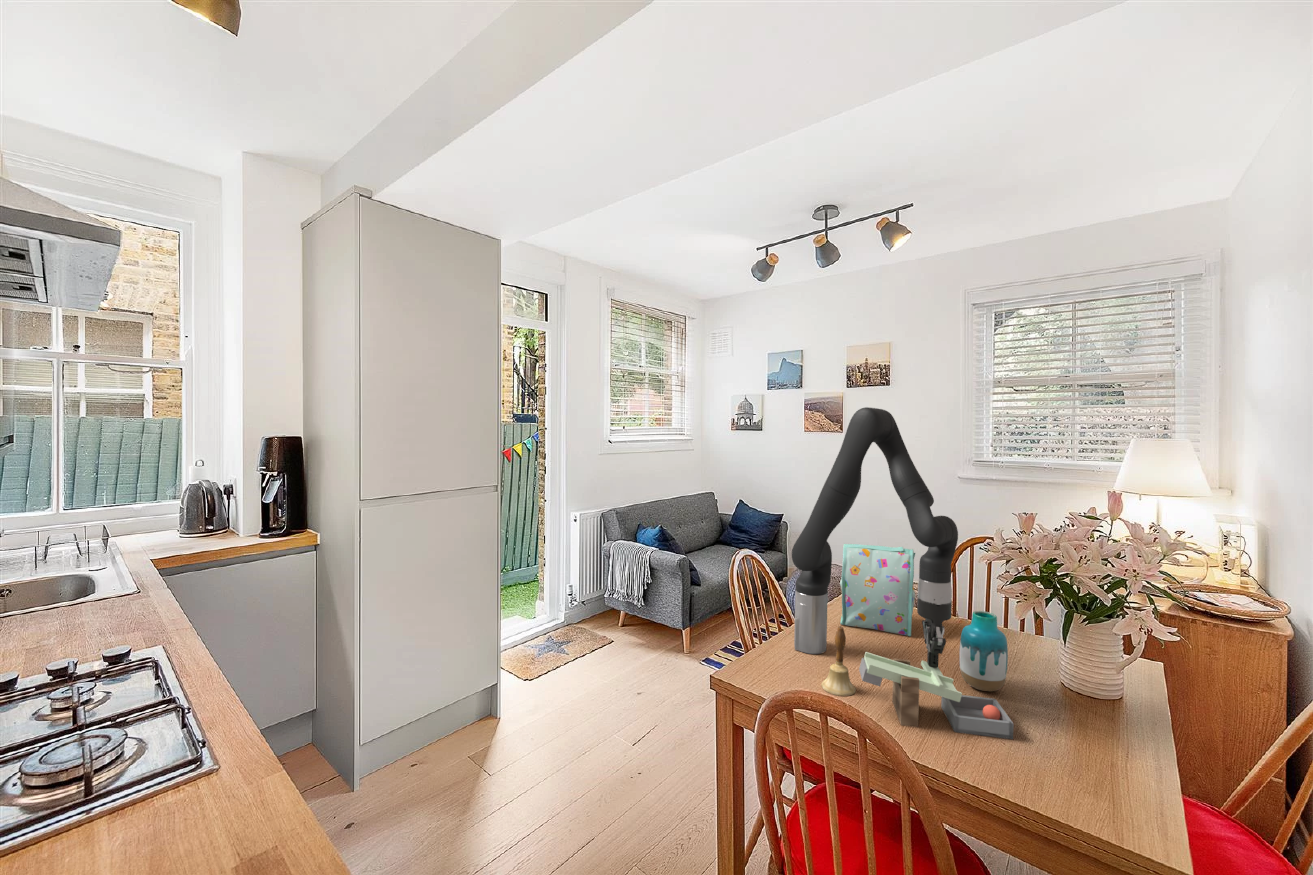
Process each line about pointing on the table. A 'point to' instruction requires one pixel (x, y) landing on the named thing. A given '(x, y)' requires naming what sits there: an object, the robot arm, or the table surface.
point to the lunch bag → (878, 588)
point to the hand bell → (839, 671)
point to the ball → (991, 712)
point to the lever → (907, 675)
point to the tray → (976, 717)
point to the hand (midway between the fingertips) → (932, 665)
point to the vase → (983, 653)
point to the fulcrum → (906, 698)
